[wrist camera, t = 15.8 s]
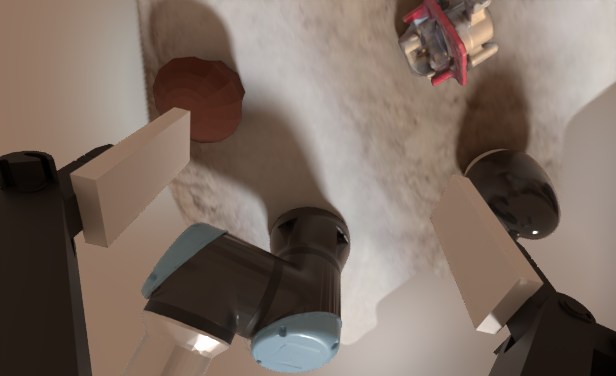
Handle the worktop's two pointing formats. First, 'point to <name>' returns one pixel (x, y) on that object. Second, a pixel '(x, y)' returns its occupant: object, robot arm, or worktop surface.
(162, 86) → the muffin
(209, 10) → the worktop surface
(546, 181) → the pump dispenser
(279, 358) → the robot arm
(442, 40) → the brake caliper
